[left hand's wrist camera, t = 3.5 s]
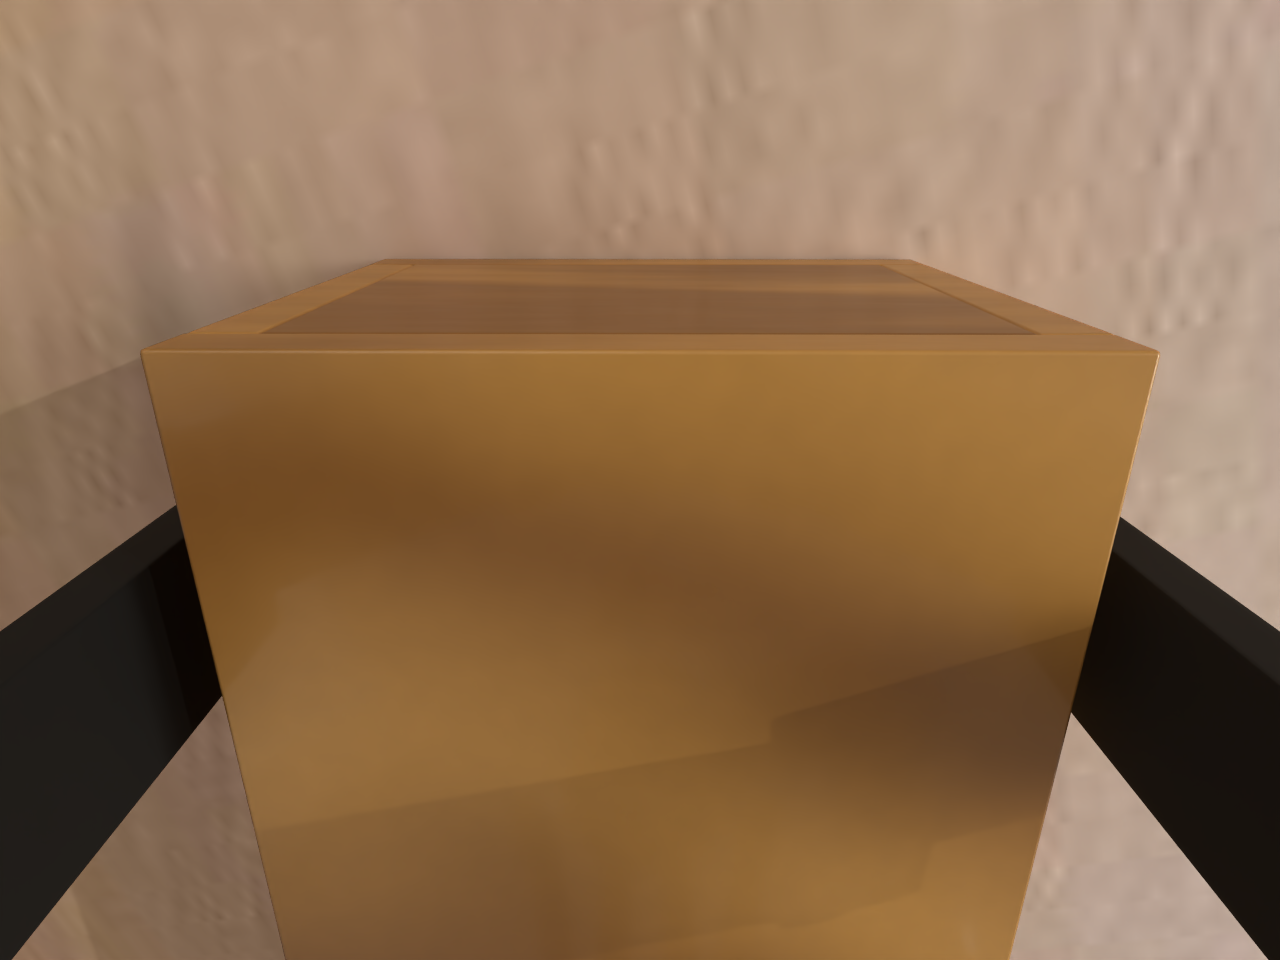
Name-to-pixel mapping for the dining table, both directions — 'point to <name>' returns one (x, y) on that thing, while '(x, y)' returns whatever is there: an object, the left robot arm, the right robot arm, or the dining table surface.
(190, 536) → the cabinet
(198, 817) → the dining table surface
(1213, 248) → the dining table surface
